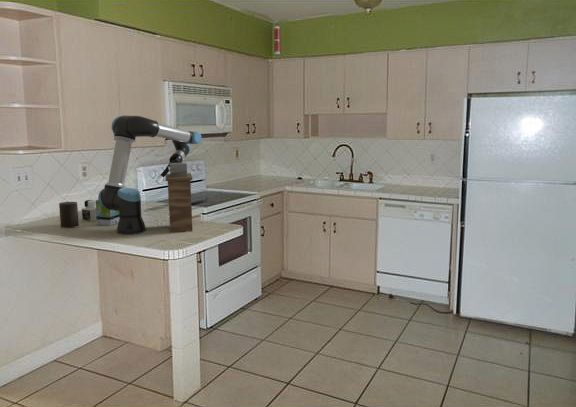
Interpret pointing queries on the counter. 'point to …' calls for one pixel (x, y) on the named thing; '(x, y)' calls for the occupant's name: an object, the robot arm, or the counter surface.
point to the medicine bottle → (89, 211)
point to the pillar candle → (68, 214)
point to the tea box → (106, 215)
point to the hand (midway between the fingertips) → (163, 176)
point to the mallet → (178, 169)
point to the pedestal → (180, 203)
